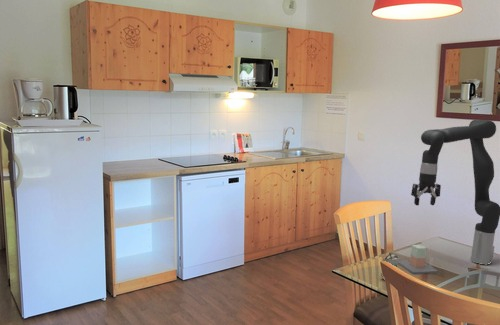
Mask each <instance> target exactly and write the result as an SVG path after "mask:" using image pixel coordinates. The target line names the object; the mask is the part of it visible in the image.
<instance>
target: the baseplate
mask: <svg viewBox="0 0 500 325" xmlns="http://www.w3.org/2000/svg"><path fill="white" fill-rule="evenodd" d="M399 261H400V262H399V263H398V265H399V266H401V267H402V268H403V269H404V270H406V271H407V272H409V273H410V274H412V275H420V274H421V275H422V274H438V273H439V270H438V269H436V268H435V267H433V266H432V265H430V264H428V263H426V262H425V268H415V267H413V266H412V265H410V259H409V260H407V259H406V260H399Z"/></svg>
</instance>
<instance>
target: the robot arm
mask: <svg viewBox="0 0 500 325" xmlns="http://www.w3.org/2000/svg"><path fill="white" fill-rule="evenodd" d="M496 132H497V125H496V123H495V122H494V121H492V120H489V119H473V120H471V121H470V122H469V124H468V125H467V126H466V125H465V126H462V125H461V126H452V127H447V128H440V129H437V128H436V129H427V130H425V131H424V132H422V134H421V136H420V140H421V142H422V143H423V144H424V145H427V146H430V147H429V149H428V150H427V149H425V150H424V151H423V152H422V156H421V164H420V168H419V178H418V181H419V182H418V183H413V184H412V186H411V187H412V189H411V193H410V195H411V196H413V197H414V200H413V201H414V202H413V203H414V206H419V205H420V197H421V196H422V195H424V194H429V195H430V201H429V204H430V205H431V206H434V205H435V204H436V199H437V197H440V196H441V190H442V189H441V188H442V187H441V186H442V185H441V184H439V183H436V182H437V176H438V175H437V173H438V163H439V162H438V160H439V155H440V153H441V150H442V148H443V146H444V144H448V143H454V142H459V141H460V142H461V141H465V140H469V141H470V147H471V155H472V166H473V167H472V168H473V178H474V179H473V180H474V211H475V213H476V214H477V215H478V216H480V217H482V218H481V221H480V222H478V223H476V224H475V228H474V233H473V242H472V248H471V256H470V261H471V260H472V261H474V262H478V263H482V264H488V263H490V262H492V263H493V258H494V253H495V245H494V241H495V237H496V236H495V234H496V230H497V228H498V226H499V222H500V205H499V203H497V202H495V201H492V200H490V186H491V184H492V183H493V181H494V177H495V166H494V162H493V158H492V157H491V155H490V154H489V153H488V151H487V149H486V147H485V144H484V139H490V138H492V137H494V135H495V134H496ZM472 261H471V262H472ZM474 262H473V263H474Z"/></svg>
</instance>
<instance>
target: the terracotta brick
mask: <svg viewBox="0 0 500 325" xmlns="http://www.w3.org/2000/svg"><path fill="white" fill-rule="evenodd" d="M409 257H410V259H409V260H410V265H412V266H413V267H415V268H425V263H426V258H427V257H426V258H415V257H414V256H412V255H411V254H410V256H409Z"/></svg>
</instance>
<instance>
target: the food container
mask: <svg viewBox="0 0 500 325" xmlns="http://www.w3.org/2000/svg"><path fill="white" fill-rule="evenodd" d="M382 261H386V262H389V263H391V264H392V265H394V266H396V267H397V268H398V265H399V264H398V263H399V262H400V261H401V260H400V258H399V255H398V254H397V253H395V252H391V251H389V252H388V255H386V256H385V258H382ZM381 276H382V274H381ZM382 277H383V276H382Z"/></svg>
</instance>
